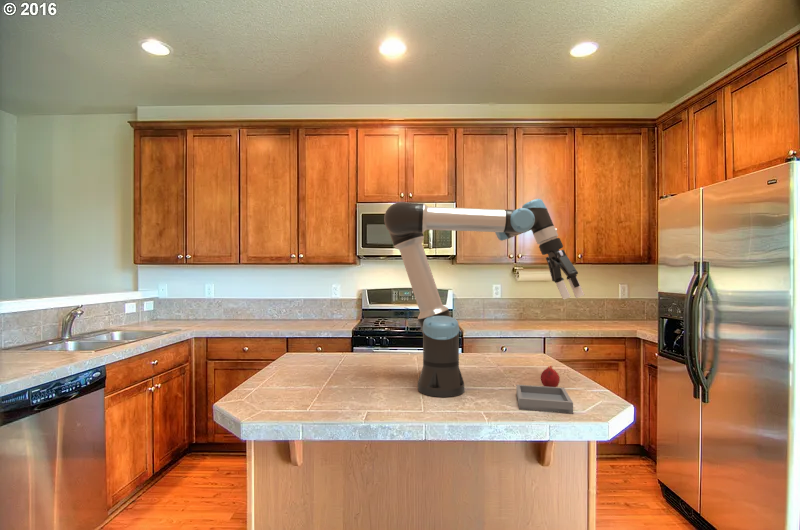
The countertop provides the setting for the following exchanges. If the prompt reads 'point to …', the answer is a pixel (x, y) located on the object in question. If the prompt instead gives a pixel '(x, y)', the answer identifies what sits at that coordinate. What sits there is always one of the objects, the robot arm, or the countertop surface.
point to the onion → (550, 377)
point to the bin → (544, 399)
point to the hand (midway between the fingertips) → (573, 297)
